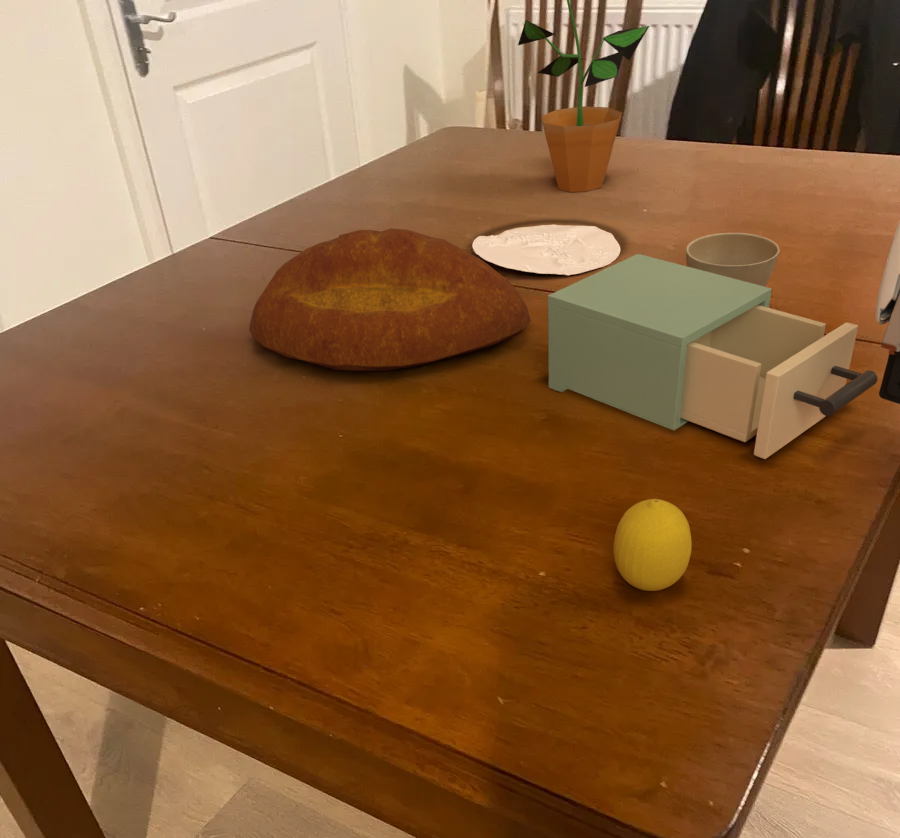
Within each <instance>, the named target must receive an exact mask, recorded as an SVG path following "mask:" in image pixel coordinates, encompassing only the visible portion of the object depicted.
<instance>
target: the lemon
mask: <svg viewBox="0 0 900 838" xmlns="http://www.w3.org/2000/svg"><path fill="white" fill-rule="evenodd" d="M692 545H693V543H692V534H691V529H690V525H689V521H688V519H687V517H686V516H685V515H684V513H683V511H682V510H681V509H680V508H679V507H677V506H676V505H675V504H673V503H671V502H669V501H667V500H665V499H664V500H663V499H659V498H651V499H645V500H641V501H638V502H637V503H635V504H633V505H632V506H631V507H629V508H628V509H627V510H626V511H625V512H624V514H623V515H622V516H621V519H620V520H619V522H618V524H617V527H616V530H615V535H614V541H613V548H612V549H613V551H612V552H613V557H614V562H615V566H616V569H617V571H618V573H619V574H620V576H621V577H622V579H623V580H625V582H627V583H628V584H629V585H630V586H632V587H634V588H636V589H638V590H641V591H646V592H657V591H662V590H664V589H667V588H669V587H671V586H672V585H674V584H675V583H676V582H678V581H679V580H680V579H681V578H682V576H683V575H684V574H685V572H686V571H687V568H688V565H689V562H690V558H691V555H692V549H693V548H692V547H693V546H692Z"/></svg>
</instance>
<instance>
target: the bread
mask: <svg viewBox="0 0 900 838" xmlns="http://www.w3.org/2000/svg"><path fill="white" fill-rule="evenodd" d="M531 321H532V318H531V316H530V312H529V309H528V306H527V304H526V302H525V301H524V299H523V298H522V296H521V295H520V293H519V292H518V290H517V289H516V288H515V286H514V285H513V283H512V282H510V280H509V279H508V278H506V277H505V276H503V275H502V274H501V273H500V272H498V271H497V270H495V269H494V268H493V267H492V266H491V265H490V264H488V263H487V262H485V261H484V259H481V258H479V257H478V256H476V255H474V254H472V253H470V252H468V251H466V250H464V249H463V248H461V247H459V246H458V245H455V244H453V243H451V242H449V241H448V240H446V239H443V238H438V237H434V236H430V235H426V234H423V233H420V232H417V231H414V230H410V229H405V228H404V229H403V228H393V227H390V228H388V229H385V230H381V231H380V230H373V229H358V230H354V231H351V232H346V233H343V234H339V235H338V237H335V238H333V239H330V240H326V241H322V242H319V243H317V244H314V245H312V246H309V247H307V248H305V249H304V250H302V251H301V252H300V253H298V254H297V255H296V254H295V256H293V257H292V258H290V259H289V260H287V261H286V262H284V263H283V264H282V265H281V266H280V267H278V269H277V270H276V271H275V273H274V275H273V276H272V278H271V279H270V280H269V282H268V283H267V285H266V287H265V288H264V289H263V292H262V293H261V294H260V296H259V298H258V299H257V301H256V302H255V303H254V307H253V309H252V313H251V318H250V322H249V323H250V324H249V328H248V331H249V333H250V335H251V337H252V339H253V340H255V341H256V342H257V343H258V344H259V345H260V346H262V347H264V348H266V349H267V350H270V351H272V352H274V353H276V354H278V355H280V356H283V357H284V358H286V359H287V358H288V359H294V360H298V361H302V362H304V363H309V364H313V365H317V366H320V367H324V368H327V369H331V370H334V371H352V372H353V371H354V372H355V371H356V372H386V371H394V370H401V369H406V368H415V367H419V366H423V365H427V364H430V363H434V362H438V361H442V360H446V359H451V358H454V357H455V358H456V357H458V356H461V355H465V354H469V353H472V352H475V351H479V350H482V349H484V348H488V347H492V346H494V345H497V344H499V343H501V342H504V341H506V340H508V339H511V338H513V337H516V336H518V335H520V334H522V333H523V331H525V330H526V329H527V328H528V326H529V325H530V323H531Z"/></svg>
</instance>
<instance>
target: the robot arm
mask: <svg viewBox="0 0 900 838" xmlns="http://www.w3.org/2000/svg"><path fill="white" fill-rule="evenodd" d="M888 251H889V252H888V255H887V259H886V262H885V264H884V268H883V272H882V276H881V280H880V284H879V288H878V293H877V298H876V302H875V307H874V319H875V320H876V322H877V323H878V324H879V325H885V324H887V326H886V329H885V332H884V334H883V337H882V339H881V343H880V347H881V348H882V349H886V350H888V351H887V353H888V357H887V361H886V365H885V369H884V372H883V376H882V380H881V384H880V388H879V391H878V395H879V397H880V398H881V399H882V400H886V401H889V402H892V403H895V404H898V405H900V218H899V220H898V223H897V226H896V228H895V232H894V234H893V238H892V242H891V245H890V247H889V250H888Z"/></svg>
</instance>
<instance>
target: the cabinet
mask: <svg viewBox="0 0 900 838" xmlns="http://www.w3.org/2000/svg"><path fill="white" fill-rule="evenodd" d="M772 290H773V288H772V287H768V286H766V287H764V286H760V285H756V284H752V283H749V282H745V281H741V280H737V279H733V278H729V277H726V276H722V275H718V274H714V273H710V272H706V271H703V270H699V269H695V268H691V267H687V265H683V264H679V263H675V262H671V261H668V260H663V259H660V258H657V257H656V258H655V257H652V256H649V255H644V254H641V253H637V254H634V255H632V256H630V257H628V258H625V259H624V260H621V261H619V262H617V263H615V264H612V265H611V266H608V267H606V268H604V269H602V270H600V271H598V272H596V273H594V274H591V275H589V276H587V277H585V278H583V279H581V280H578V281H575V282H574V283H572V284H569V285H568V286H566V287H564V288H561V289H559V290H557V291H555V292H552V293H550V294H548V295H547V326H548V327H547V328H548V329H547V330H548V333H547V335H548V337H547V338H548V340H547V341H548V346H547V347H548V353H547V354H548V388H549V389H551V390H554V391H556V392H558V393H563V392H565V391H566V390H570V391H572V392H575V393H578V394H580V395H582V396H585V397H588V398H590V399H592V400H595V401H598V402H600V403H602V404H605V405H609V407H613V408H616V409H618V410H621V411H624V412H626V413H628V414H631V415H633V416H636V417H639V418H641V419H642V420H643V419H644V420H646V421H649V422H651V423H654V424H657V425H659V426H662V427H664V428H666V429H669V430H671V431H676V430H677V429H679V428H681V427H682V426H684V425H685V424H687V423H689V421H688V420H685V419H682V418H680V416H681V405H682V395H683V385H684V374H685V364H686V353H687V344H689V343H691V342H692V341H694V340H696V339H698V338H700V337H701V336H703V335H705V334H707V333H708V332H710V331H712V330H714V329H716V328H717V327H719V326H721V325H723V324H724V323H726V322H728V321H730V320H732V319H733V318H735V317H737V316H739V315H740V314H742V313H744V312H746V311H748V310H749V309H751V308H753V307H755V306H756V305H760V306H764V307H768V308H770V303H771V297H772V293H773V292H772Z"/></svg>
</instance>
